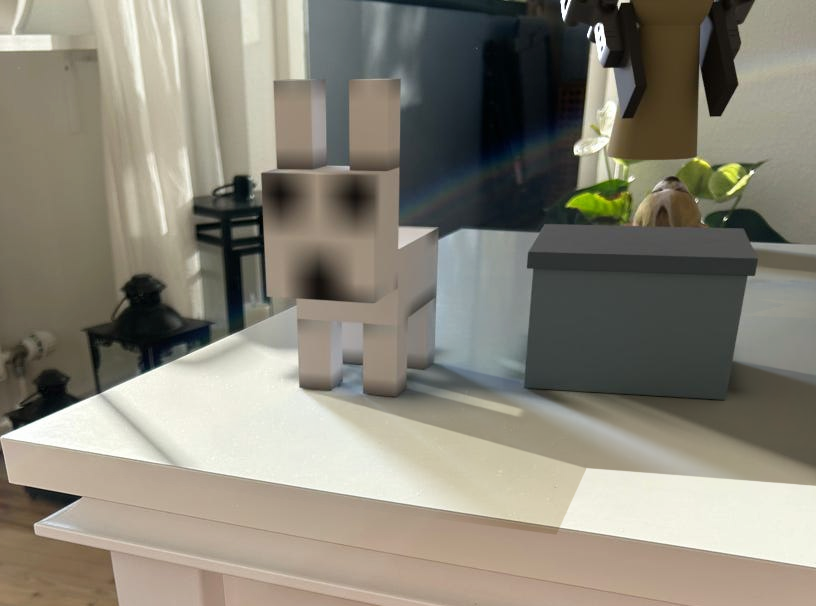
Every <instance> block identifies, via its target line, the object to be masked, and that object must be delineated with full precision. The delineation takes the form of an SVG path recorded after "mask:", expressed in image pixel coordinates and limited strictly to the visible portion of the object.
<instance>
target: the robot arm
mask: <svg viewBox="0 0 816 606" xmlns="http://www.w3.org/2000/svg"><path fill="white" fill-rule="evenodd" d="M619 1H620V0H560V5H561V7H560V8H561V14H562V20H563V23H564V24H565V25H566V26H568V27H571V28H575V27H577V26H579V25H580V24H584V25H588V26H589V29H588V32H587V39H588V41H589V42H590V43H592V44H595V45H596V49H597V55H598V60H599V61H598V62H599V63H600V65H601V66H602V68H603V69H613V75H614V80H615V87H616V93H617V98H618V102H619V105H620V111H621V117H622V119H625V118H633V117H634V115H635V113H636V110H637V108H638V106H639V104H640V101H641V99H642V97H643V95H644V92H645V90H646V88H647V82H646V76H645V70H644V65H643V59H642V53H641V48H640V42H639V36H638V31H637V25H636V19H635V14H634V8H633V2H630V1H629V2H620V4H619ZM755 2H756V0H713V3H712V6H711V9H710V12H709V14H708V15H707V17H706V18H705V19H704V21H703V22H702V23H701V25H700V60H699V70H700V74H701V79H702V84H703V89H704V95H705V99H706V104H707V110H708V115H709V118H714V117H715V118H717V117H718V118H719V117H722V115H723V114H724V112H725V110H726V108H727V106H728V104H729V103H730V101H731V99H732V97H733V96H734V94H735V92H736V90H737V88H738V87H739V85H740V84H739V79H738V75H737V69H736V65H735V59H736V57H737V55H738V53H739V51H740V50H741V45H742V39H741V36H740V31H739V26H740V25H743V24H744V23H745V21H746V19H747V17H748V15H749V14H750V12H751V10H752V7H753V6H754V4H755Z"/></svg>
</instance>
